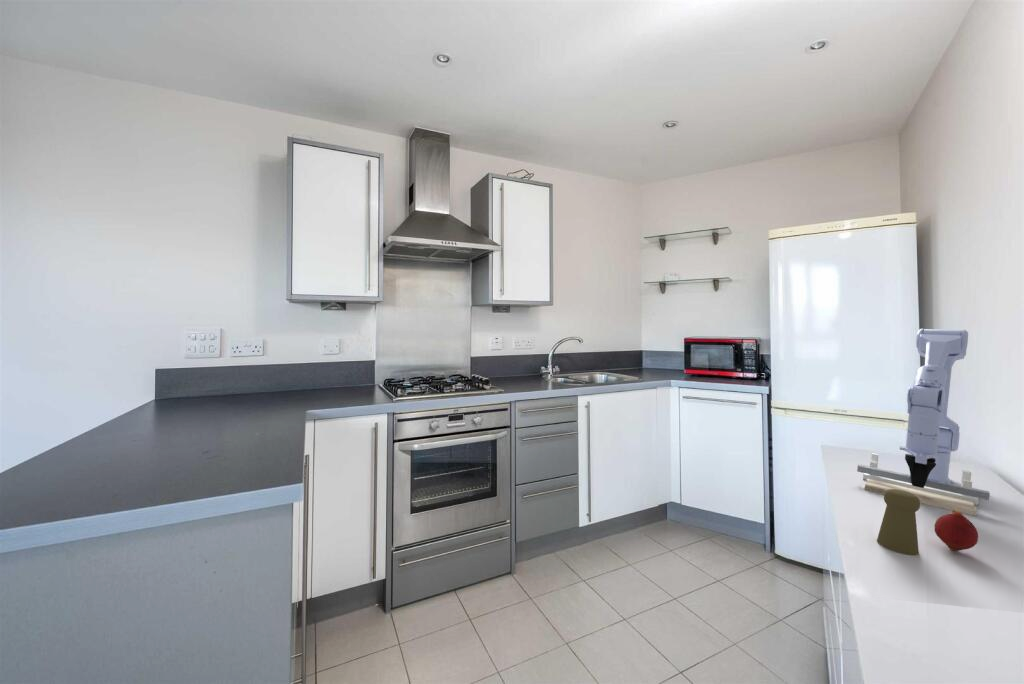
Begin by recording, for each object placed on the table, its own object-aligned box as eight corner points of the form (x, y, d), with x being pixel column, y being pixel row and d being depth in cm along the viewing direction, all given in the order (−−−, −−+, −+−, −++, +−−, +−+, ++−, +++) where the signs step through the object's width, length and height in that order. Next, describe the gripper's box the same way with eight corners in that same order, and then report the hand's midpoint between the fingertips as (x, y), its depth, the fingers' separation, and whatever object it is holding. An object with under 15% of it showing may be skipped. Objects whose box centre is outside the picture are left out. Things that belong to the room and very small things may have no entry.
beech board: (866, 482, 117) (867, 478, 117) (972, 506, 103) (972, 502, 103) (864, 489, 111) (864, 485, 111) (976, 516, 97) (976, 511, 97)
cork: (901, 540, 84) (906, 486, 83) (928, 556, 78) (933, 499, 77) (868, 537, 85) (873, 484, 84) (893, 553, 79) (898, 496, 78)
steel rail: (857, 469, 116) (858, 464, 116) (987, 497, 99) (988, 491, 99) (857, 471, 114) (857, 465, 114) (989, 500, 98) (989, 493, 98)
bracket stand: (864, 475, 122) (866, 451, 122) (975, 499, 107) (978, 473, 107) (862, 479, 119) (864, 455, 118) (977, 505, 104) (980, 477, 103)
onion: (966, 547, 82) (970, 507, 82) (983, 562, 77) (988, 520, 77) (927, 539, 85) (930, 501, 84) (941, 553, 79) (945, 512, 79)
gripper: (901, 425, 114) (897, 474, 115) (900, 434, 104) (895, 487, 104) (938, 431, 109) (933, 481, 110) (941, 440, 99) (935, 496, 99)
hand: (917, 485), depth 107 cm, fingers closed on steel rail, 2 cm apart
